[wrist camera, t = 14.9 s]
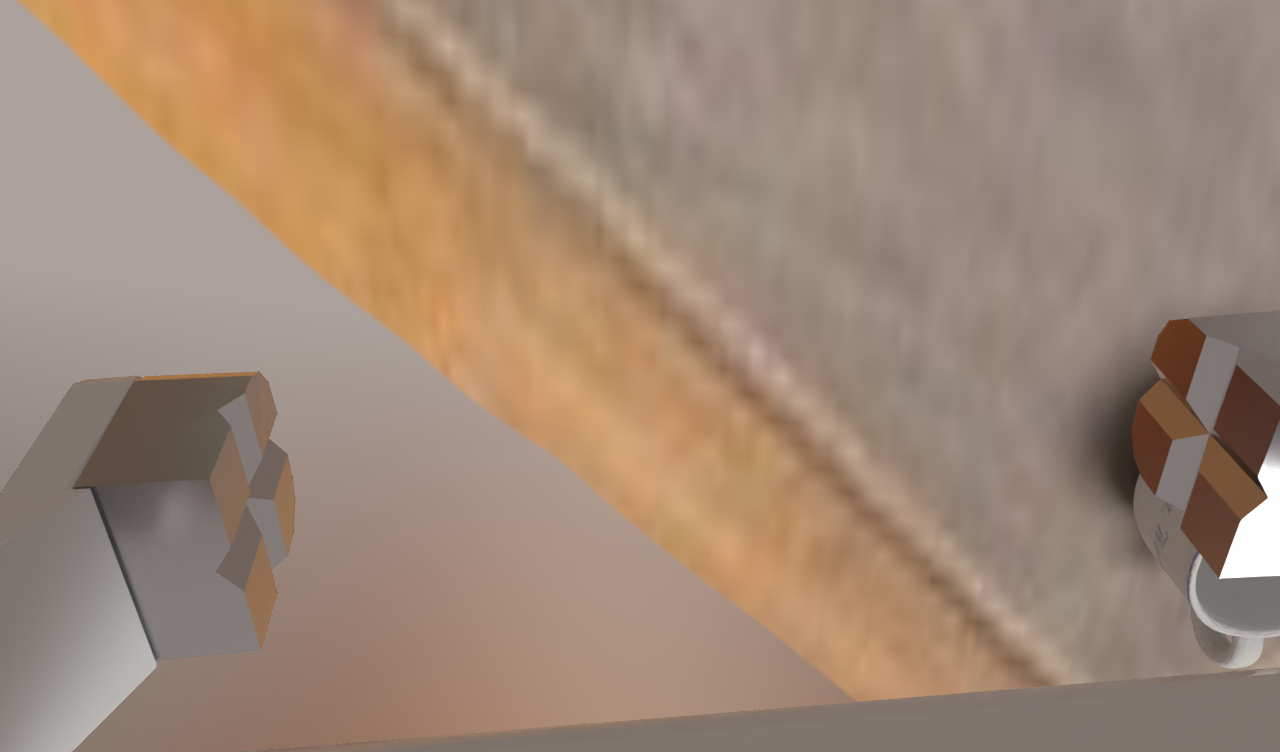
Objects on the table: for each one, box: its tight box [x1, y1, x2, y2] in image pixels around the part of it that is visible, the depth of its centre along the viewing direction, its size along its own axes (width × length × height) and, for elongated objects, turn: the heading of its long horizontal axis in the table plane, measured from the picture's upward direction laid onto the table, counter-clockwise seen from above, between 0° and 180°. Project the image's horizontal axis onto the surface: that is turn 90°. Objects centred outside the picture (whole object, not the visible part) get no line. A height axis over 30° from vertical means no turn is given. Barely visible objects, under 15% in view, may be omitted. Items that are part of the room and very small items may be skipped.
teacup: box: [1133, 474, 1280, 668], centre depth 52 cm, size 14×11×8 cm
